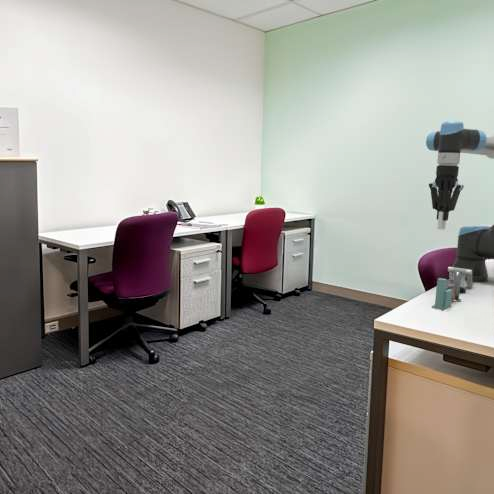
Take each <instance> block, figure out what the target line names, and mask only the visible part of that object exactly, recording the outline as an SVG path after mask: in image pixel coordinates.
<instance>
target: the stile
mask: <svg viewBox="0 0 494 494" xmlns="http://www.w3.org/2000/svg"><path fill="white" fill-rule="evenodd" d="M447 280H448V279H447V278H441V277H439V278H437V281H436V290H435V291H436V292H435V300H434V305H431V308H432V309H437V310H441V311H445V310H447V309H448V308H450V307H452V301H451V300H452V291H453V290H452V289H448V290H446V285H447Z"/></svg>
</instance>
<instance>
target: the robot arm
mask: <svg viewBox="0 0 494 494" xmlns="http://www.w3.org/2000/svg"><path fill="white" fill-rule="evenodd" d="M425 145H426V148H427V149H428V150H429V151H434V152H437V160H436V161H437V162H436V164H438V165H437V166H436V171H435V176H436V177H435V179H434V181H433V182H432V183H431V182H430V183H428V187H429V189H430V198H431V206H432V209H433V210H435V211H436V220H437V227H436V228H437V230H446V223H447V221H448V220H449V214H450V212H451V211H454V210H455V208H456V206H457V202H458V200H459V197H460V194H461V191H462V190H463V189H464V187H465V186H464V184H461V183H459V179H458V176H459V169H460V167H459V164H460V158H461V153H462V154H470V155H479V156H486V157H487V158H489V159H493V160H494V135H493V136H487V134H486V132H485V131H482V130H479V129H474V128H473V129H470V128H465V127H464V122H462V121H457V120H456V121H455V120H453V121H451V120H450V121H444V122H442V123H441V125H440V130H439V131H438V130H436V131H432V132H430V133H429V134H428V135H427V136H426V139H425ZM457 235H458V236H457V238H458V239H457V247H456V257H455V258H456V259H455V261H454V263H453V265H452V267H456V268H463V269H469V270H472V283H474V282H475V283H476V282H477V283H478V282H479V283H483V282H488V280H489V273H488V268H487V265H486V259H490V260H494V224H492V226H491V229H490V226H483V225H481V226H480V225H479V226H473V225H472V226H462V227H460V228H459V232H458V234H457ZM465 282H467V275H466V278H465Z"/></svg>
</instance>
